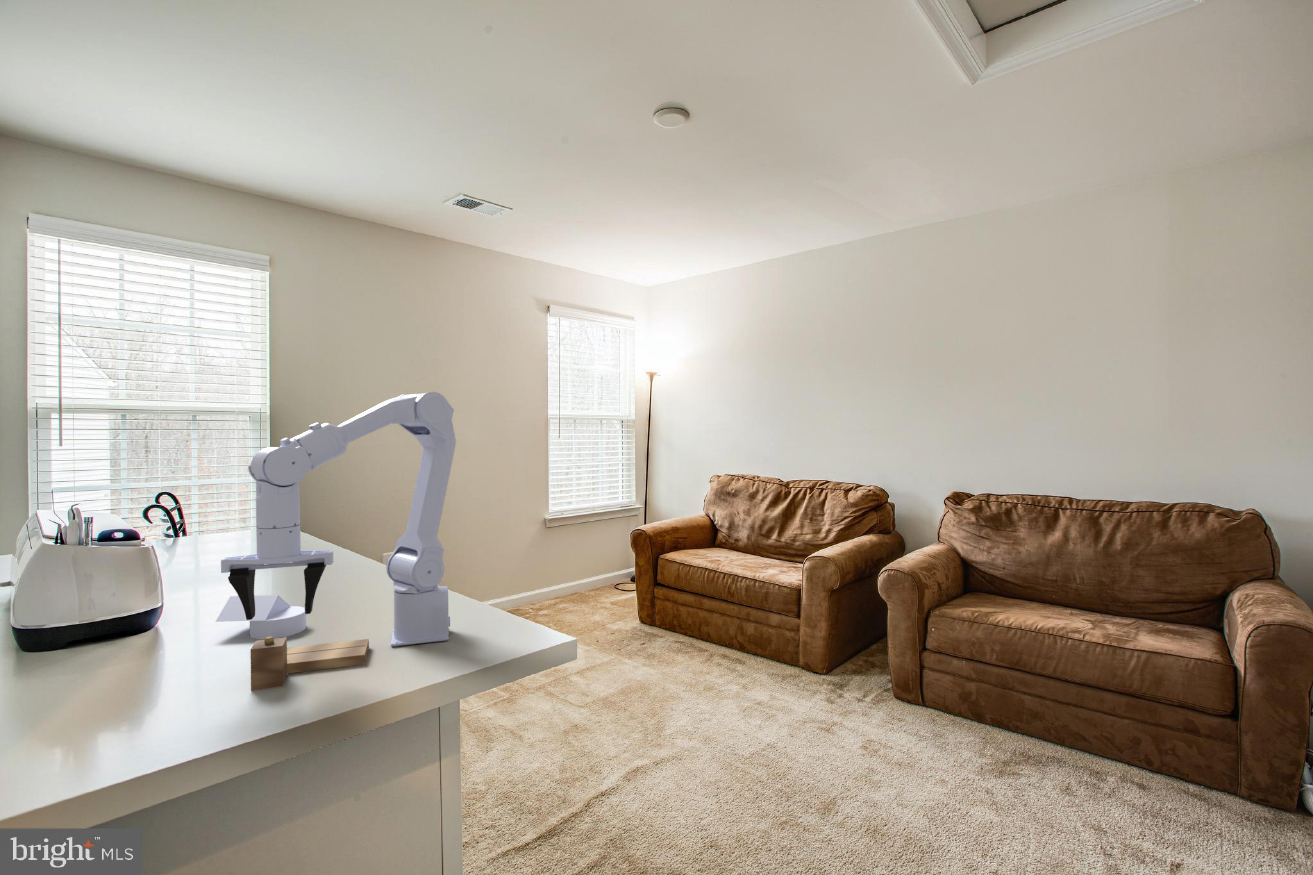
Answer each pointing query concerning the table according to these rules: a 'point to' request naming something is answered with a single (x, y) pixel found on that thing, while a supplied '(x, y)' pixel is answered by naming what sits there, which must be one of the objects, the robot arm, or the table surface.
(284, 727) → the table surface
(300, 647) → the board
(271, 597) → the wedge on round base
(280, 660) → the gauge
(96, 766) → the table surface
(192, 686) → the table surface
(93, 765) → the table surface
